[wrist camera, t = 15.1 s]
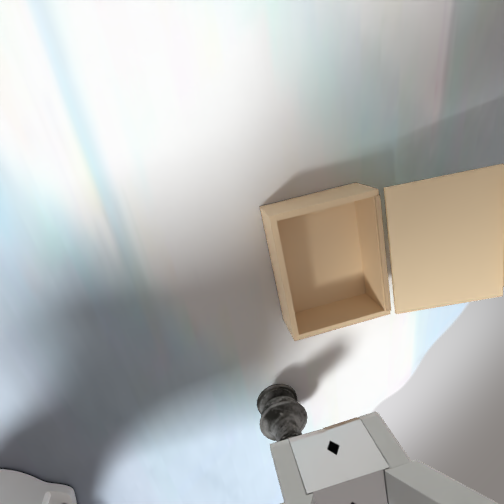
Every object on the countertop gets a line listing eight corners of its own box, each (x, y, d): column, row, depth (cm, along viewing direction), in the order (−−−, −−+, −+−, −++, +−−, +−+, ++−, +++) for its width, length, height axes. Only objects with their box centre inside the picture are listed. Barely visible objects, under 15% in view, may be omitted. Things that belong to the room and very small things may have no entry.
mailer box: (369, 294, 45) (391, 314, 40) (283, 318, 44) (295, 342, 39) (356, 182, 41) (379, 189, 36) (259, 206, 40) (269, 217, 35)
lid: (399, 318, 39) (394, 311, 41) (512, 299, 38) (504, 293, 40) (387, 190, 35) (383, 187, 36) (516, 164, 34) (507, 162, 35)
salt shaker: (293, 420, 49) (324, 506, 38) (250, 419, 48) (270, 506, 37) (303, 383, 48) (339, 461, 36) (259, 380, 46) (283, 460, 35)
